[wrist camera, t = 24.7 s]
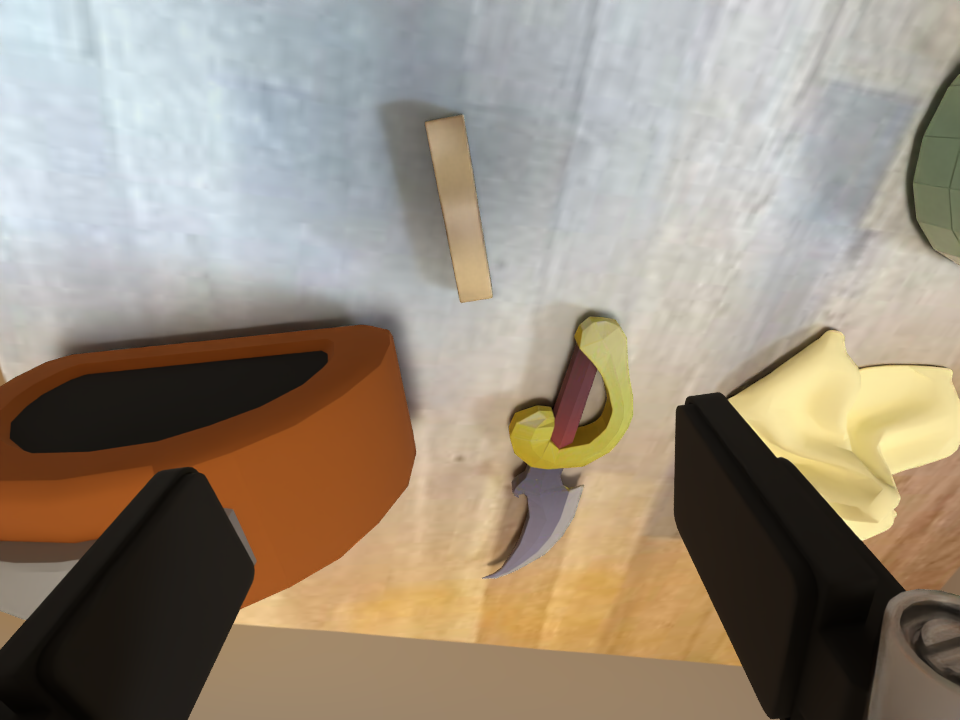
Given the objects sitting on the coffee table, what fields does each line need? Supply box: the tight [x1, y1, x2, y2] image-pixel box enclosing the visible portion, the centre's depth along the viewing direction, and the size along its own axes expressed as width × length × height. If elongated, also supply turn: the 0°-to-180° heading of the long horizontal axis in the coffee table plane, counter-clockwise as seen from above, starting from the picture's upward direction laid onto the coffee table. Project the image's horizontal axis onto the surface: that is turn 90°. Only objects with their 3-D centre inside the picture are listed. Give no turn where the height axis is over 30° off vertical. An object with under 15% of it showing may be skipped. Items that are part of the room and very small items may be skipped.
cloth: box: [728, 330, 960, 541], centre depth 35 cm, size 22×19×6 cm
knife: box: [483, 317, 633, 578], centre depth 36 cm, size 8×3×25 cm
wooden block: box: [425, 114, 493, 303], centre depth 28 cm, size 10×2×2 cm, turn 10°
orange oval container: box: [0, 325, 416, 620], centre depth 27 cm, size 23×9×17 cm, turn 96°
